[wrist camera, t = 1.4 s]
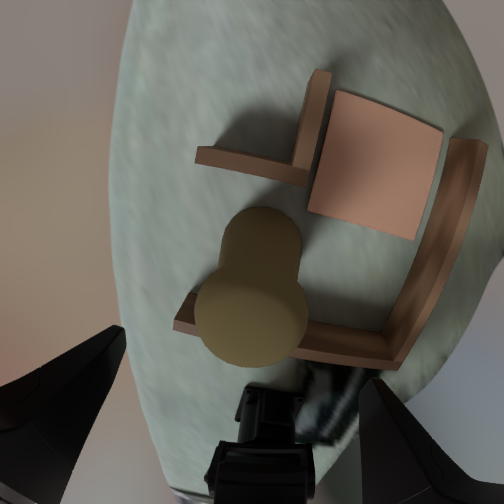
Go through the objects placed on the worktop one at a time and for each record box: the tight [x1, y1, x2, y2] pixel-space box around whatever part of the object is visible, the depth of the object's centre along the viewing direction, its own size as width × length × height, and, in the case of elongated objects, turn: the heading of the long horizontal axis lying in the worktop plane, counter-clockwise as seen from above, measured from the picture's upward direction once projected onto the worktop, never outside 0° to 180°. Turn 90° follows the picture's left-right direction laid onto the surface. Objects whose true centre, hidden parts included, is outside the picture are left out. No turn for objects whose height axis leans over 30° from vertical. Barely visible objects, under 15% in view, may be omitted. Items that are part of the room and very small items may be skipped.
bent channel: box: [173, 69, 488, 371], centre depth 19 cm, size 19×18×4 cm
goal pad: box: [307, 90, 443, 241], centre depth 18 cm, size 9×9×1 cm
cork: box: [194, 207, 309, 368], centre depth 16 cm, size 6×6×11 cm
